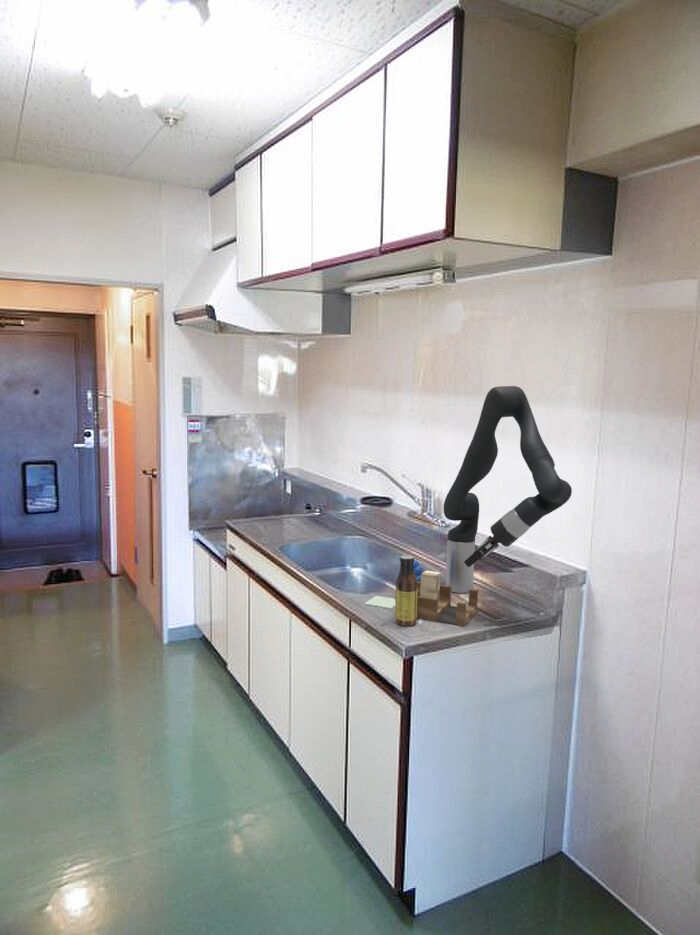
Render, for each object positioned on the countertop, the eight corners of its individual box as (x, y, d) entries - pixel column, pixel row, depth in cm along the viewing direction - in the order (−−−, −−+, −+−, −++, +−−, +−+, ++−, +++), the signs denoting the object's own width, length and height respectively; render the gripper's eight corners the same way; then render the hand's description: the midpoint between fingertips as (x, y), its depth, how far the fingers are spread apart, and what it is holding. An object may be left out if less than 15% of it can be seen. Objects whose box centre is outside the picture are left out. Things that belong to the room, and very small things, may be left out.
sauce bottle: (403, 617, 198) (405, 552, 195) (420, 622, 194) (423, 556, 191) (390, 623, 193) (392, 556, 190) (408, 628, 189) (410, 560, 186)
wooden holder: (412, 600, 214) (413, 580, 213) (477, 610, 205) (478, 590, 205) (395, 614, 200) (396, 593, 199) (464, 626, 191) (465, 604, 191)
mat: (375, 596, 217) (375, 595, 217) (401, 601, 213) (401, 599, 213) (364, 604, 209) (364, 603, 209) (391, 609, 205) (391, 608, 205)
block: (424, 601, 207) (426, 570, 205) (438, 604, 205) (440, 572, 204) (419, 606, 202) (421, 574, 201) (434, 608, 200) (435, 576, 199)
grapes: (433, 597, 218) (434, 561, 217) (416, 600, 215) (417, 563, 213) (412, 587, 228) (413, 553, 227) (396, 590, 225) (397, 555, 223)
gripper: (507, 513, 198) (467, 546, 204) (496, 521, 185) (455, 556, 191) (524, 532, 196) (484, 565, 202) (515, 542, 184) (472, 577, 190)
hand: (469, 561), depth 197 cm, fingers open, 8 cm apart
